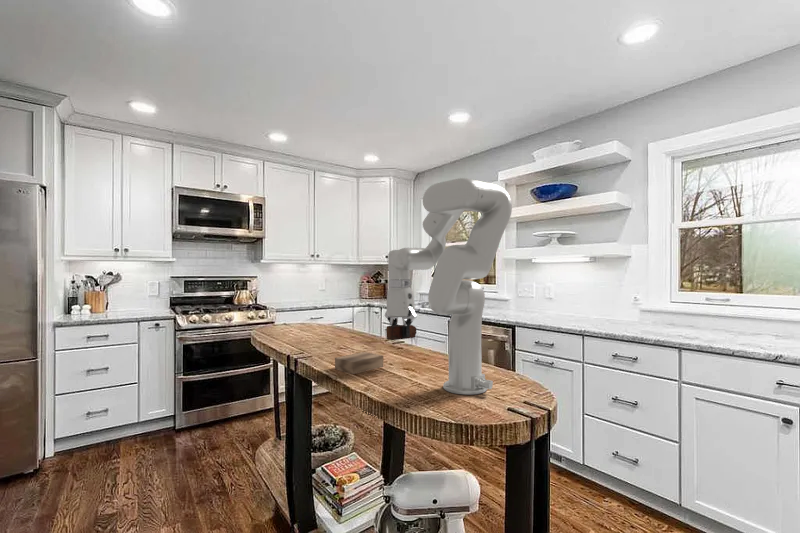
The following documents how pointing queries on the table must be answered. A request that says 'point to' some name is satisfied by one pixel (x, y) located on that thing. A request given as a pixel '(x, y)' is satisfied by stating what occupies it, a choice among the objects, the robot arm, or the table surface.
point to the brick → (398, 332)
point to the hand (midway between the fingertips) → (400, 336)
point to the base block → (358, 362)
